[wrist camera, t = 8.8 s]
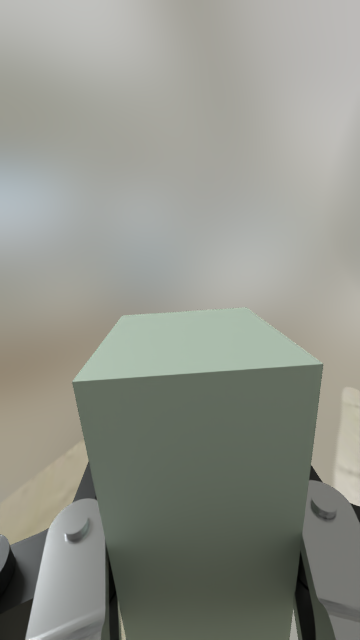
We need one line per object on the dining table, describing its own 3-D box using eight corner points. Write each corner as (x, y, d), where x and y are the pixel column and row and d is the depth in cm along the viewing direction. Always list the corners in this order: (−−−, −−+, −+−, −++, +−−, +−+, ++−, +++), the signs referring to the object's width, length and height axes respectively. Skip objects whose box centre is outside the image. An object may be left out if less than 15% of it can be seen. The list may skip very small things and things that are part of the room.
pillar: (146, 736, 7) (72, 381, 4) (155, 565, 11) (122, 315, 8) (279, 723, 7) (323, 363, 4) (241, 558, 11) (246, 307, 8)
